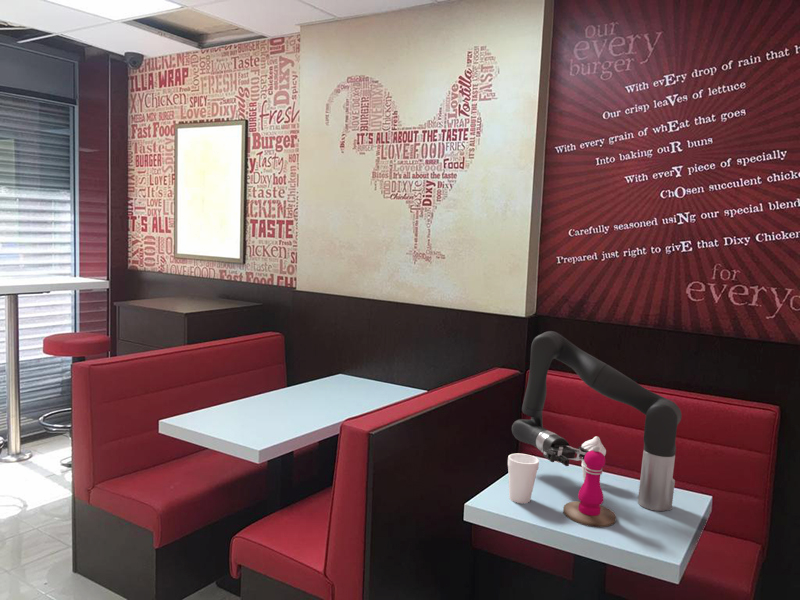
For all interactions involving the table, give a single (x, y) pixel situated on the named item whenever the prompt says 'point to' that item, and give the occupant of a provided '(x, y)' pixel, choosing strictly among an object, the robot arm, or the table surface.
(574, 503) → the walnut board
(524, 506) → the table surface
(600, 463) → the pepper mill
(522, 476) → the foam cup
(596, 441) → the soft serve ice cream cone
